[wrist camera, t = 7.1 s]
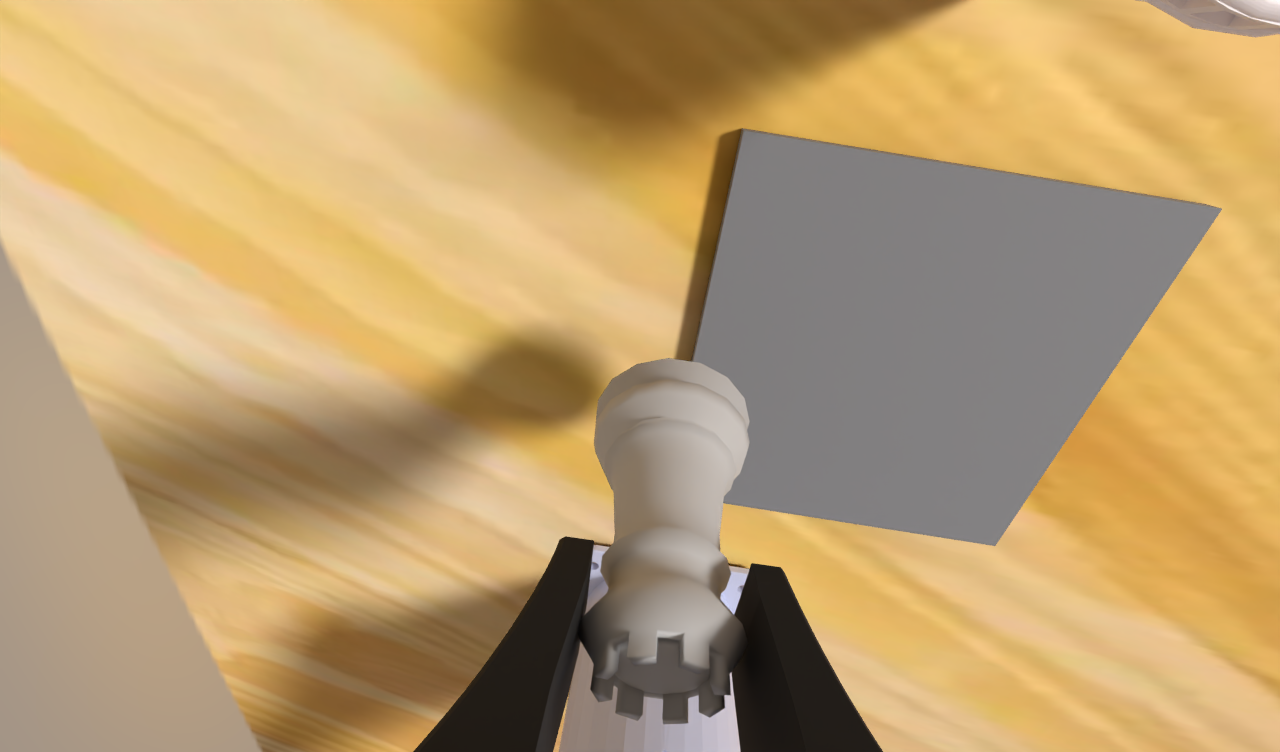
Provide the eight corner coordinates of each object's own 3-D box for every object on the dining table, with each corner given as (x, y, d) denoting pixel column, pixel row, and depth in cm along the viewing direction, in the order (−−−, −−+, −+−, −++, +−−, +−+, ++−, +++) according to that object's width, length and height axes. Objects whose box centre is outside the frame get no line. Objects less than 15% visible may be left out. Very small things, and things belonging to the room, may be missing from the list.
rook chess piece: (751, 346, 15) (798, 626, 8) (745, 466, 17) (778, 752, 11) (588, 350, 15) (512, 618, 9) (606, 466, 18) (557, 740, 11)
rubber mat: (988, 534, 23) (995, 545, 23) (664, 484, 23) (664, 493, 23) (1205, 203, 16) (1222, 208, 16) (741, 128, 16) (743, 130, 16)
